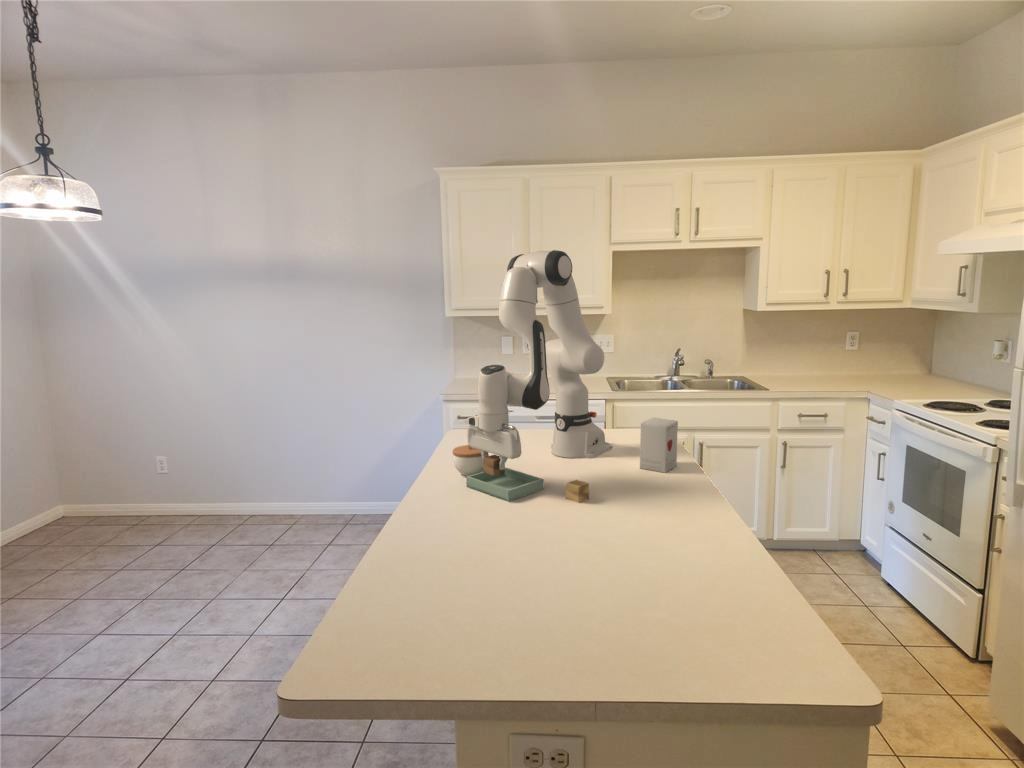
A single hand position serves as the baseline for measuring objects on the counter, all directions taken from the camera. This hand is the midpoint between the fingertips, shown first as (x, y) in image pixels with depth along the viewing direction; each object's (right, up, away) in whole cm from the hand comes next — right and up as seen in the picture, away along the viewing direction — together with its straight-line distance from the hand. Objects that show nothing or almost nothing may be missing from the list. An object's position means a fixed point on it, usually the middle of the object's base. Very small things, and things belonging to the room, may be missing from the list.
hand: (494, 467), depth 191 cm
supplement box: (+52, -2, +15) cm, 54 cm away
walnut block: (0, -2, 0) cm, 2 cm away
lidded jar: (-8, -4, +12) cm, 15 cm away
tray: (+3, -6, -2) cm, 7 cm away
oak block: (+23, -7, -12) cm, 27 cm away
